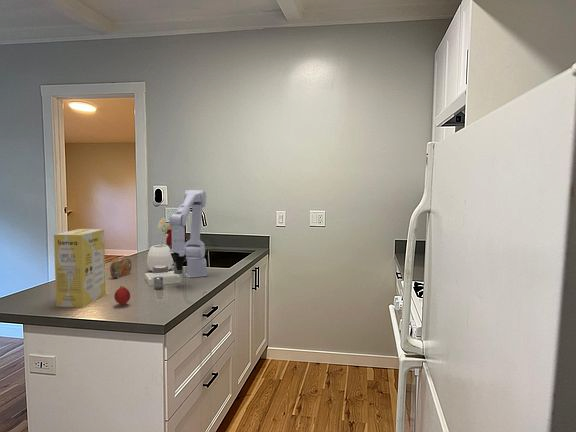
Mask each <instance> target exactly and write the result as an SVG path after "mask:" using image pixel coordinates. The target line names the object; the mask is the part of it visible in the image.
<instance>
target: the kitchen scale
mask: <svg viewBox="0 0 576 432" xmlns="http://www.w3.org/2000/svg"><path fill="white" fill-rule="evenodd" d="M152 268H153V271H152V272H145V273H144V280H145V282H146V283H147V285H148V286H149V287H154V277H163V286H164V285H172V284H173V285H174V284H181V276H180V274H174V270H168V266H163V265H160V266H155V267H152Z"/></svg>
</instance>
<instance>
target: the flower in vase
mask: <svg viewBox="0 0 576 432" xmlns="http://www.w3.org/2000/svg"><path fill="white" fill-rule="evenodd" d="M166 222H167V220H166V218H165V217H162V218H161V219H160V220H159V222H158V224H157V229H158V230H161V231H162V234H161V233H160V237H161V239H162V245H167V242H166V239H167V236H168V234H166V233H167V230H166V228H167V227H166V226H165V225H166ZM163 227H164V228H163ZM171 249H172V248H170V250H171ZM172 253H174V252H172Z"/></svg>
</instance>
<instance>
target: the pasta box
mask: <svg viewBox="0 0 576 432" xmlns="http://www.w3.org/2000/svg"><path fill="white" fill-rule="evenodd" d="M53 242H54V244H53V245H54V247H53V248H54V276H55V278H54V279H55V301H56V303H55V306H56V307H57V308H58V307H59V308H60V307H62V308H84V307H86V306H88V305H89V304H91V303H93V302H95V301H96V300H99V299H100V298H102V297H104V296H105V295H106V293H107V291H106V290H107V289H106V288H107V287H106V255H105V252H106V251H105V245H106V244H105V228H104V229H103V228H97V229H96V228H77V229H74V230H73V229H72V230H68V231H64V232H60V233H55V234H53Z"/></svg>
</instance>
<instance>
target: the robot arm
mask: <svg viewBox="0 0 576 432" xmlns="http://www.w3.org/2000/svg"><path fill="white" fill-rule="evenodd" d="M206 193H207V192H206V191H205V189H186V190H185V191H184V195H183V199H184V201H183V203H182V204H180V205H179V206H178V208H177V209H176V211H175V212H174V213H172V214H171V215H170V216H169V221H168V223H169V225H170V229H171V230H172V246H171V248H170V249H171V250H169V251H170V252H174V253H170V254H171V256H172V258H173V263H174V262H176V268H177V270H182V268H184V264H185V263H184V262H185V260H186V270H187V273H185V276H186V277H187V278H188V279H189V278H200V277H201V278H202V277H207V276H208V274H207V269H208V268H207V259H206V257H205V255H206V247H205V245H206V244H205V243H204V242H203V241H202V240H201V229H202V226H201V225H202V216H203V215H202V213H203V208H204V207H206V201H207V195H206ZM191 210H192V211H191ZM190 212H191V223H190V224H191V225H190V235H189V239H188V240H186V242H185V232H186V230H185V229H186V226H187V221H188V216H189V214H190ZM184 226H185V227H184Z"/></svg>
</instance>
